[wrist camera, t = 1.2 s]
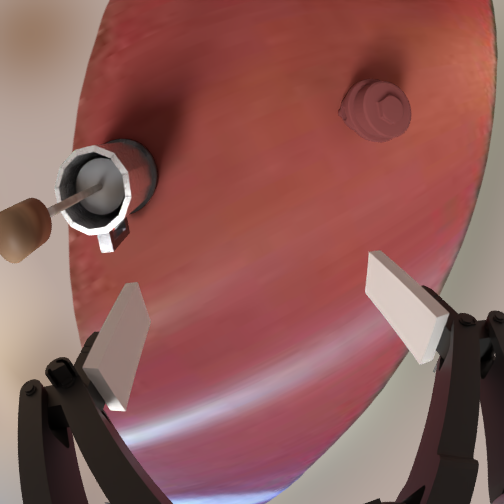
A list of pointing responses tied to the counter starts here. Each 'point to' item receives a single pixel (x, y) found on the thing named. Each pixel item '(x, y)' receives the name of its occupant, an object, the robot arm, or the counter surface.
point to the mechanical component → (376, 110)
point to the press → (135, 185)
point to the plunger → (59, 209)
